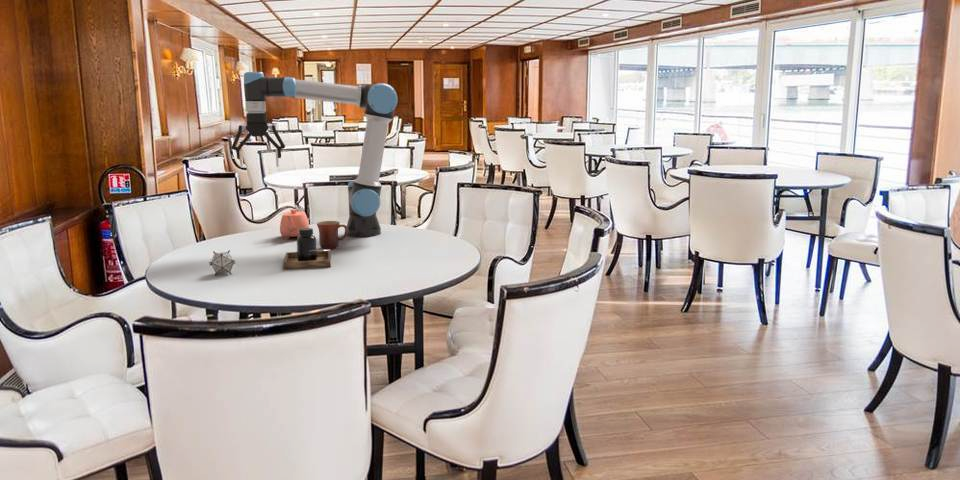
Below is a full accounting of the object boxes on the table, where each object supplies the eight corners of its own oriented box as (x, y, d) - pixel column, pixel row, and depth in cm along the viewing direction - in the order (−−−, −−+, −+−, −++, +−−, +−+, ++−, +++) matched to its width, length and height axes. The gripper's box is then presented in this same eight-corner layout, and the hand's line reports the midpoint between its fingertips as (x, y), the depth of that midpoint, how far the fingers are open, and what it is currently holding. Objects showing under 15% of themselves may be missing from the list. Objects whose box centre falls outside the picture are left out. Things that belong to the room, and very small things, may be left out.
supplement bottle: (314, 263, 253) (312, 230, 251) (295, 263, 253) (293, 230, 251) (319, 259, 260) (317, 227, 257) (300, 259, 260) (298, 227, 257)
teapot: (286, 233, 311) (284, 206, 308) (313, 232, 311) (311, 205, 309) (275, 242, 291) (273, 213, 289) (304, 242, 292) (302, 213, 289)
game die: (226, 285, 241) (224, 267, 234) (204, 276, 242) (201, 257, 235) (241, 268, 247) (240, 249, 240) (220, 258, 248) (218, 239, 241)
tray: (330, 256, 266) (330, 250, 266) (330, 267, 251) (330, 260, 250) (286, 259, 263) (286, 252, 262) (284, 269, 248) (283, 262, 247)
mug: (315, 250, 277) (313, 224, 275) (322, 245, 285) (320, 220, 283) (344, 251, 276) (343, 225, 274) (351, 246, 284) (350, 221, 282)
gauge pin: (330, 253, 271) (330, 248, 270) (330, 255, 269) (330, 249, 268) (298, 255, 268) (298, 250, 268) (298, 256, 267) (297, 251, 266)
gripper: (221, 113, 270) (225, 168, 274) (288, 112, 275) (291, 167, 279) (223, 112, 277) (228, 166, 281) (289, 111, 282) (292, 165, 286)
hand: (259, 167), depth 280 cm, fingers open, 13 cm apart
